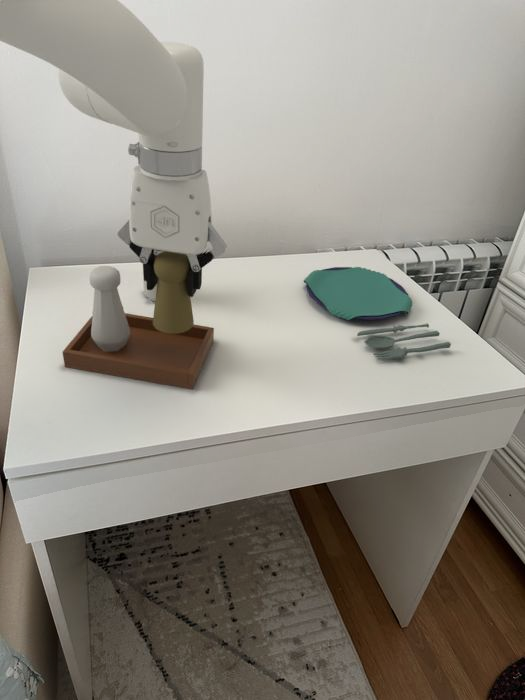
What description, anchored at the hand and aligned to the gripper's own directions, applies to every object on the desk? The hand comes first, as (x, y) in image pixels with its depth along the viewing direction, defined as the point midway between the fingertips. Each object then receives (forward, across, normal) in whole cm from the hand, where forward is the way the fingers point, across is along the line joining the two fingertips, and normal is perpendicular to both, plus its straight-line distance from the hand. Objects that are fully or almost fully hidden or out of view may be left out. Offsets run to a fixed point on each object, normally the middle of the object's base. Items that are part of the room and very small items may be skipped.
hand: (172, 287), depth 76 cm
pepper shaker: (+6, 0, 0) cm, 6 cm away
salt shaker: (+12, -10, 0) cm, 16 cm away
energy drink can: (+13, -8, +18) cm, 24 cm away
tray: (+13, -5, 0) cm, 14 cm away
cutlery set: (+13, +30, +24) cm, 40 cm away
